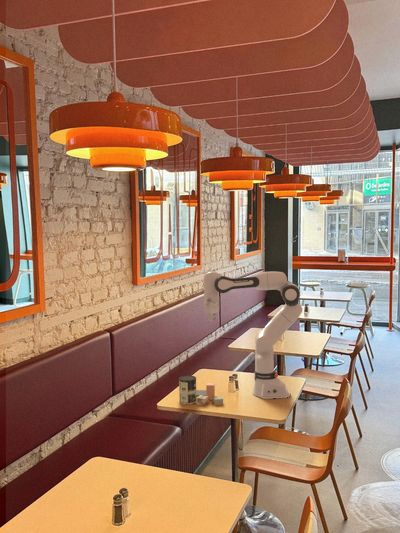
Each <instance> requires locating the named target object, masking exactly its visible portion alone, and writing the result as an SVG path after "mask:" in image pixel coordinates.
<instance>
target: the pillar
mask: <svg viewBox="0 0 400 533" xmlns="http://www.w3.org/2000/svg"><path fill="white" fill-rule="evenodd" d="M215 385H216V384H215V382H207V383H206V387H205V389H206V396H208V401H213V397H214V396H216V395H215V394H216V392H215V391H216V389H215V388H216V387H215Z"/></svg>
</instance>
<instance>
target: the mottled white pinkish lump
mask: <svg viewBox="0 0 400 533" xmlns="http://www.w3.org/2000/svg"><path fill="white" fill-rule="evenodd" d="M196 400H197V401H196V405H197V406H206V405H207V404H208V403H209V400H208V396H203V395H200V396H196Z"/></svg>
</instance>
